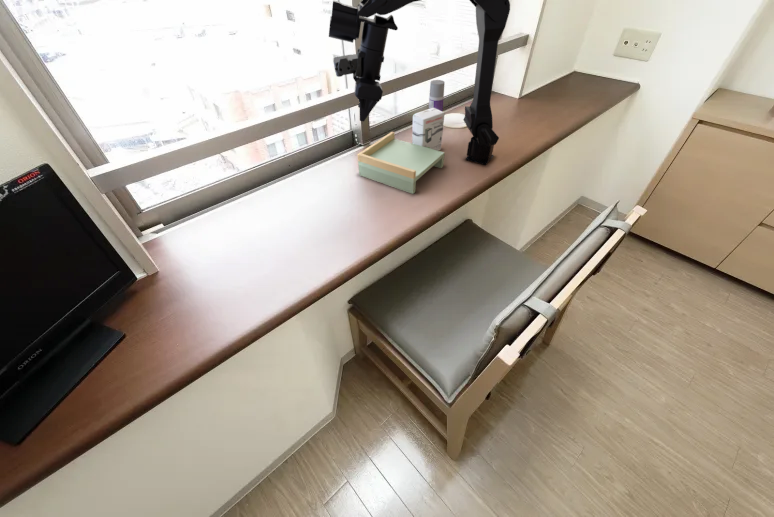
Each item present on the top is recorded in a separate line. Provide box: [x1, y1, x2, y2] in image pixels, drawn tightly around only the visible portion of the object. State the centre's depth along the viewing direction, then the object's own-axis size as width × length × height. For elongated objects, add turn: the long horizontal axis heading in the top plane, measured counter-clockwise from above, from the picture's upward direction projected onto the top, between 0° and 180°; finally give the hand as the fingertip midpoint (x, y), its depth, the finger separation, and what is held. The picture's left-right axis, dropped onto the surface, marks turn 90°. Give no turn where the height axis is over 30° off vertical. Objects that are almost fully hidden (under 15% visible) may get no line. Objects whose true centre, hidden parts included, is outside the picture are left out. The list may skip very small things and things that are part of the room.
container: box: [428, 79, 445, 112], centre depth 113 cm, size 5×5×15 cm
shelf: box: [357, 131, 446, 195], centre depth 96 cm, size 18×17×6 cm
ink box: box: [411, 108, 446, 151], centre depth 102 cm, size 9×5×12 cm, turn 128°
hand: (360, 114), depth 89 cm, fingers open, 9 cm apart
